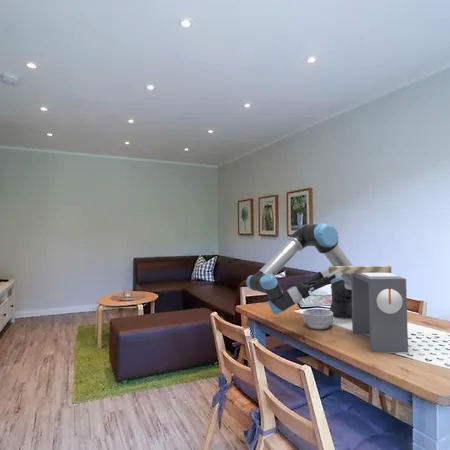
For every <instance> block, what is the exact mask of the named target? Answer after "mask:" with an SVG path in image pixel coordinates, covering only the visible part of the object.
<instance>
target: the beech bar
mask: <svg viewBox="0 0 450 450" xmlns="http://www.w3.org/2000/svg"><path fill="white" fill-rule="evenodd" d="M328 268H329V273H331V274H332V273H334V272H335V271H337V270H339V269H340V270H341V272H342V273H391V274H392V266H390V265H359V266H358V265H354V266H333V265H331V266H330V265H329V266H328Z"/></svg>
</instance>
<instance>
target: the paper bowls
mask: <svg viewBox="0 0 450 450" xmlns="http://www.w3.org/2000/svg"><path fill="white" fill-rule="evenodd" d="M329 310H330V309H325V308H308V309H305V310H303V312H302V313H303V314H302V316H303V322H304V323H306V324H307V326H308V327H309V328H310V329H313V328H314V330H326V329H328V328H329V327H330V325H332V324H333V323H334V317H333V312H332V311H329Z"/></svg>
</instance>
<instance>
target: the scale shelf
mask: <svg viewBox="0 0 450 450" xmlns="http://www.w3.org/2000/svg"><path fill="white" fill-rule="evenodd" d="M351 293H352V318H351V320H352V321H351V323H352V325H351V326H352V327H351V330H352V333H353V335H354V334H355V335H360V334H361V335H362V334H363V335H365V334H366V335H369V349H370V351H371V352H372V353H397V352H408V353H409V339H408V338H409V335H408V303H407V302H408V300H407V295H408V294H407V279H406V278H405V277H402V276H400V275H397V274H395V273H394V274H393V273H392V272H391V273H351Z"/></svg>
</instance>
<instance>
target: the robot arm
mask: <svg viewBox="0 0 450 450" xmlns="http://www.w3.org/2000/svg"><path fill="white" fill-rule="evenodd" d="M339 243H340V241H339V232H338V229H336V227H335V226H334V225H332V224H328V223H323V222H322V223H313V224H311V223H308V224H304V225H303V226H300V227H299V228H298V229H296V230H295V231H294V232H293V233H292V234H291V235H290V236H289V237H288V238H287V242H286V243H285V244H283V246H282V247H281V248H280V249H279V250H278V251H277V252H276V253H275V254H274V255H273V256H272V257H271V258H270V259H269V260H268V261H267V262H266V263H265V264H264V265H263V266H262V267H261V268H260V269H259V271H257V272H256V273H255V274H251V275H249V276H247V278H246V282H245V284H246V287H247V288H248V289H249V290H252V291H255V292H258V293H259V292H260V293H263V294H266V295H267V297H268V299H269V300H268V301H267V304H268V307H269V308H270V309H271V311H272V313H273V314H274V315H279V314H281V313H283V312H285V311H286V310H288V309H289V308H291V307H293V306H294V305H296V304H298V305H299V304H300V302H302V301H303V299H307V298H308V297H310V296H311V294H310V292H311V293H313V292H315V291H317V290H318V289H321V288H324V287H325V286H328V285H330V289H331V290H330V291H331V304H330V306H329V309H328V310H329V311H332V312H333V318H338V319H352V293H351V273H342V272H341V270H340V269H339V270H337V271H335V272H334V273H329V267H328V268H327V269H325V270H323V271H318V272H317V273H316V274H315V275H314V276H312V277H311V278H310V279H309V280H307V281H305V282H302V281H301V282H299V283H297V284H295V286H292V287H289V288H288V289H287V290H285V291H284V290H283V288H282V287H281V285H280V283H279V282H278V281H279V280H278V279H277V278H276V277H275V276H276V275H277V274H278V273H279V272H280V271H281V270H282V269H283V268H284V267H285V265H287V263H288V262H289V261H291V259H292V258H293V257H294V256H295V255H296V254H297V253H298V252H301V251H303V250H304V249H305V248H306V247H315V249H316V250H317V252H318V253H320V254H322V255H324V256H325V258H326V259H327V260H328V261H329V263H330V264H331V266H353V264H352V262H351V261H350V260H349V259H348V257H347V255H345V253H344V252H343V250H342V248H341V247H340V246H339Z"/></svg>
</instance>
